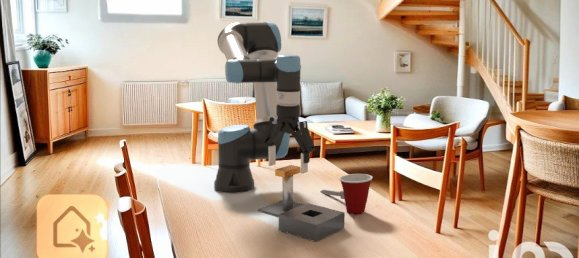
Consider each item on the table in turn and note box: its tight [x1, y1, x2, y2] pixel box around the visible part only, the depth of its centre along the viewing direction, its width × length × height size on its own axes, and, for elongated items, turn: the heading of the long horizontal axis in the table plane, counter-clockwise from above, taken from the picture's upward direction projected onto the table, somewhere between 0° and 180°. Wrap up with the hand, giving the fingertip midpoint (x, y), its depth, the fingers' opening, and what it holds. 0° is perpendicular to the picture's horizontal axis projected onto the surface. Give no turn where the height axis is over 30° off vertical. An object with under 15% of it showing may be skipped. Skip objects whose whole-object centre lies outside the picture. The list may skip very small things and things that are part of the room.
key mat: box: [257, 199, 305, 218], centre depth 182 cm, size 16×14×1 cm
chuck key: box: [274, 164, 301, 211], centre depth 179 cm, size 8×4×14 cm, turn 140°
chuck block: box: [278, 202, 346, 243], centre depth 164 cm, size 14×14×5 cm
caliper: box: [320, 189, 345, 200], centre depth 193 cm, size 20×1×6 cm, turn 28°
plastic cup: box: [338, 173, 374, 216], centre depth 180 cm, size 11×11×12 cm
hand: (287, 168), depth 179 cm, fingers open, 13 cm apart
